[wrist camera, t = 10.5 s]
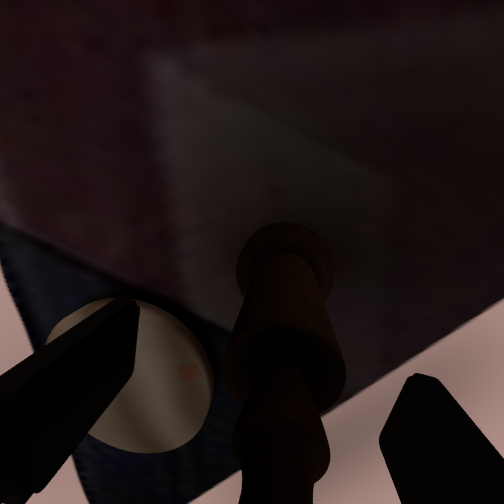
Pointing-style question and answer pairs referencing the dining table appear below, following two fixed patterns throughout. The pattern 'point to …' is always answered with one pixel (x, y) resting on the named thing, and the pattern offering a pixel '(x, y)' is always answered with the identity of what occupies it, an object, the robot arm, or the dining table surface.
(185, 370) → the disc
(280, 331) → the wooden pepper mill
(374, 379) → the dining table surface
